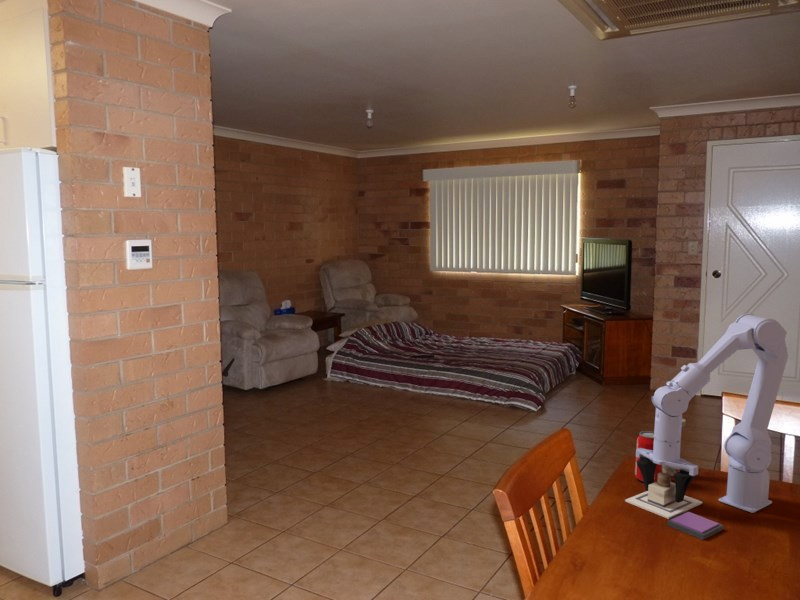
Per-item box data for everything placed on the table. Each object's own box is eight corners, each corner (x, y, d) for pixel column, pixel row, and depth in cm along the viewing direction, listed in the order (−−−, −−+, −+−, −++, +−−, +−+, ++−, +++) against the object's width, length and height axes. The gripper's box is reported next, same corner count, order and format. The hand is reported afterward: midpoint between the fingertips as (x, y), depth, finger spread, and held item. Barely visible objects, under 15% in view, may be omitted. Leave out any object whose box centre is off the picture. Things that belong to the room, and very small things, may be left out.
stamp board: (659, 487, 157) (659, 485, 157) (702, 503, 148) (702, 501, 148) (624, 501, 149) (625, 499, 149) (668, 518, 140) (668, 516, 140)
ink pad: (687, 515, 142) (687, 510, 141) (722, 529, 135) (723, 523, 135) (666, 525, 137) (667, 519, 137) (702, 540, 130) (703, 534, 130)
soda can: (648, 486, 157) (651, 439, 156) (629, 477, 163) (631, 432, 162) (666, 482, 160) (669, 436, 159) (646, 473, 166) (649, 429, 164)
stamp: (662, 495, 151) (663, 469, 151) (677, 501, 148) (679, 474, 147) (647, 501, 148) (649, 475, 147) (663, 507, 145) (665, 480, 144)
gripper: (629, 433, 150) (626, 488, 152) (687, 451, 138) (683, 511, 140) (646, 428, 154) (643, 482, 156) (704, 445, 143) (701, 503, 144)
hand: (663, 495), depth 148 cm, fingers open, 7 cm apart
